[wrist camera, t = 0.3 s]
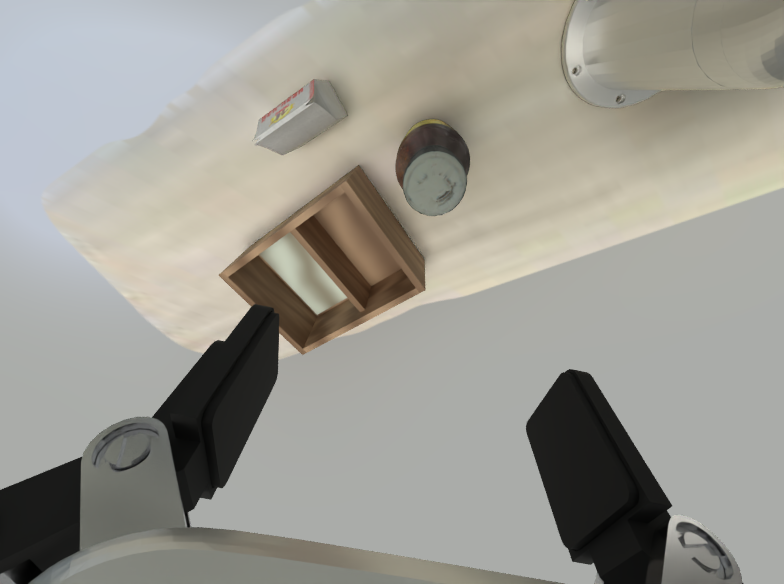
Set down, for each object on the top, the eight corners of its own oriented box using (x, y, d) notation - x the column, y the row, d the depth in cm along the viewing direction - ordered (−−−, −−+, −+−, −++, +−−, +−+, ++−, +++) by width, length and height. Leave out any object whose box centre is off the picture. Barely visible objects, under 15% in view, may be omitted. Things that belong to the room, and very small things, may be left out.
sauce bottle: (460, 169, 38) (491, 232, 21) (408, 181, 39) (399, 249, 22) (452, 108, 35) (483, 124, 18) (396, 122, 36) (376, 150, 19)
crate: (358, 165, 39) (345, 180, 32) (424, 259, 45) (425, 290, 38) (248, 247, 46) (218, 275, 39) (317, 320, 52) (302, 354, 45)
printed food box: (347, 115, 36) (326, 123, 28) (300, 146, 38) (266, 162, 30) (329, 81, 34) (299, 78, 26) (280, 115, 36) (239, 123, 28)
